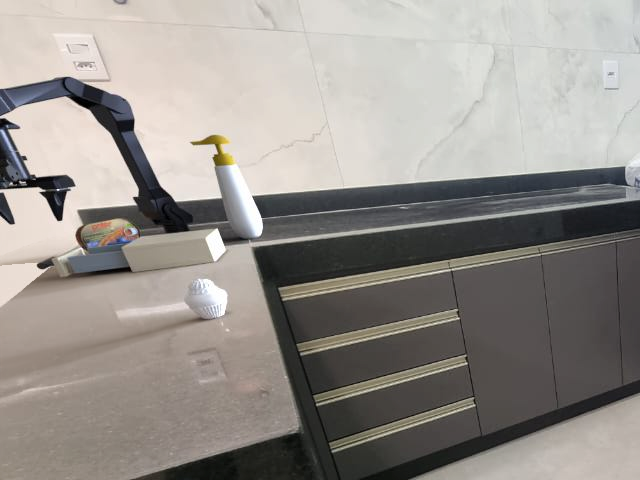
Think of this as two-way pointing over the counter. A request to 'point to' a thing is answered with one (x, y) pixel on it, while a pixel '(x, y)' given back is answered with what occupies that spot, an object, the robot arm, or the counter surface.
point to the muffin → (206, 299)
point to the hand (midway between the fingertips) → (36, 222)
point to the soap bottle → (234, 192)
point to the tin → (106, 232)
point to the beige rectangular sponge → (174, 250)
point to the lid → (120, 241)
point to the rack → (87, 260)
